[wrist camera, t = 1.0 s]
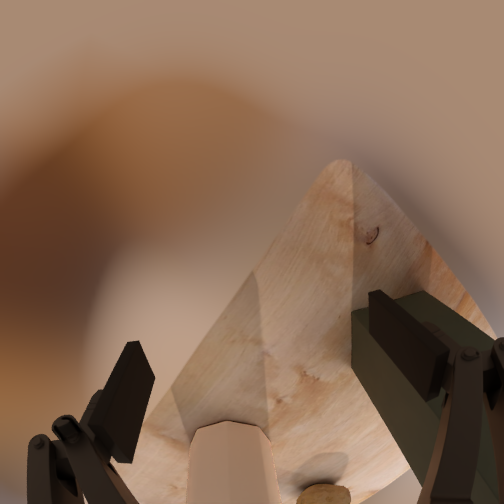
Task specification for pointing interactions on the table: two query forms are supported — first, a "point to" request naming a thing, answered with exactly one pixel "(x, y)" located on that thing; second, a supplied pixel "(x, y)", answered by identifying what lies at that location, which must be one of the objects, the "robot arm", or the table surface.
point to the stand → (407, 398)
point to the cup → (231, 466)
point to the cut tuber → (325, 495)
